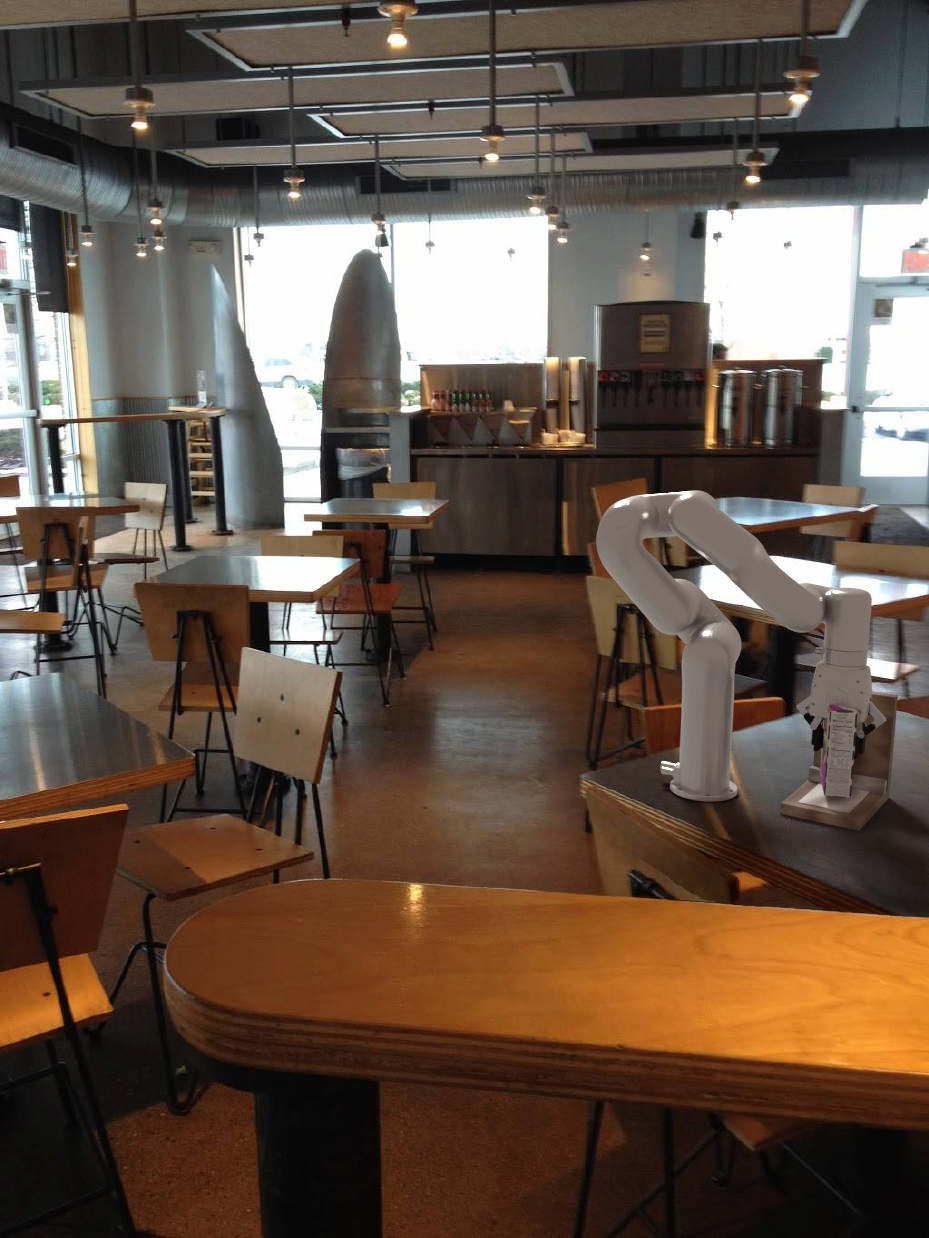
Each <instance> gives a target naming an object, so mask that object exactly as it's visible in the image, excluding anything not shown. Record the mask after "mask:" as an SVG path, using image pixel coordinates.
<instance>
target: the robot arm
mask: <svg viewBox="0 0 929 1238" xmlns="http://www.w3.org/2000/svg"><path fill="white" fill-rule="evenodd" d="M667 537H678V538H679V539H680V540H682V541H683V542H684V543H685V544H686V545H688V546H689V547H690V548H692V549H693V550H695V551H696V552H697V553H698V554H699V555H701V556H702V557H703V558H705V559H706V560H707V561H708V562H710V564H712V565H713V566H715V568H717V569H718V570H719V571H721V572H722V573H723V574H725V575H726V576H727V577H728V579H730V581H731V582H732V583H733V584H734V585H735V586H736V587H738V588H739V589H740V591H742V592H743V593H744V594H745V595H746V596H747V597H748V598H749V599H750V600H751V601H752V602H753V603H754V604H756V605H757V606H758V607H759V608H761V610H762V611H764V612H765V613H766V614H767V615H769V616H770V617H772V618H773V619H774V620H776V621H777V622H778V623H779V624H781V625H782V626H783V627H785V628H787V629H788V630H791V631H793V632H796V633H808V632H811V631H814V630H815V629H816V628H818V627H819V625H820V624H824V635H823V637H824V638H823V645H822V646H820V647H818V646H816V647H815V650H814V654H815V655H817V656H820V657H821V658H820V659H821V660H820V661H818V662H817V663H816V667H815V669H814V674H813V680H812V684H811V690H810V695H809V696H807V697H806V698H805V699H803V700H802V701H801V702H799V703H798V704H797V705H796V709H797V710H798V711H799V713H800V714H801V715H802V717H803V719H804V720H805V721H806V723H807V724H808V725H809V728H810V729H811V743H810V744H811V746H813V749H812V750H813V752H814V751H816V752H817V751H819V750H820V749H821V748H822V744H823V730H824V728H823V727H822V725H821V724H822V722H823V721H824V719H827V713H828V706H829V705H838V706H845V707H849V708H855V709H857V712H858V714H857V724H856V732H857V736H856V740H855V753H854V759H858V758H859V757H860V756H861V754H864V751H865V740H866V735H868V734H869V733H870V732H872V731H873V730H875V729H876V728H877V727H879V726H880V725H881V724H882V723H884V722H885V721H886V718H885V716H884V715H883V714H882V713H881V712H880V711H879V710H878V709H877V707H876V706H875V705H874V704H873V703H872V691H873V684H872V672H871V667H870V666H869V665H867V664H868V653H869V650H868V649H869V639H870V630H871V629H870V627H871V626H870V625H871V614H872V605H873V603H872V601H873V600H872V599H873V598H872V595H871V594H870V592H868V591H867V590H864V589H861V588H856V587H855V588H854V587H836V588H835V587H831V586H824V585H821V584H820V585H819V584H815V583H811V582H810V583H807V582H804V583H802V582H801V583H799V582H798V581H796V580H795V579H793V578H792V577H791V576H789V575H788V573H786V572H785V571H784V570H782V568H781V567H779V566H778V565H777V564H776V562H775V561H774V560H773V559H772V558H771V556H770V555H769V554H768V552H767V550H766V549H765V547H764V545H763V543H761V541H760V540H759V539H758V538H757V537H756V536H755V535H753V534H752V533H751V532H749V530H747V529H746V528H744V527H743V526H742V525H740V524H739V523H738V522H736V520H734V519H733V518H731V517H730V516H729V515H727V514H726V513H725V512H724V511H722V510H721V509H720V508H719V505H718V502H717V501H716V500H715V498H714V497H713V496H712V495H710V494H709V493H707V492H705V491H703V490H687V491H679V492H668V493H666V492H665V493H654V494H639V495H633V496H632V495H631V496H629V497H626V498H624V499H620V500H617V501H616V502H615V503H613V504H612V505H610V506H609V507H608V508H607V509H606V511H605V512H604V514H603V515H602V517H601V519H600V521H599V523H598V527H597V532H596V539H595V540H596V543H595V545H596V551H597V555H598V557H599V559H600V562H601V564H602V567H604V569H605V570H606V571H607V573H608V574H609V575H610V577H611V578H612V579H613V580H614V581H615V582H616V583H617V585H618V586H619V587H620V588H621V589H622V590H623V592H624V593H625V594H626V595H627V596H628V598H629V600H631V602H632V603H633V604H634V605H635V606H636V608H638V609H639V610H640V612H641V613H642V614H643V615H644V616H645V617H646V618H647V620H648V621H649V623H651V625H652V626H653V627H654V628H655V629H656V630H657V631H659V632H660V633H662V634H664V635H668V636H678V638H679V639H680V640H681V641H682V642H683V643H684V648H683V652H682V656H681V682H682V684H681V689H682V690H681V717H680V718H681V721H680V722H681V723H680V739H679V762H677V763H673V762H671V761H666V760H662V761H661V762H660V764H659V765H660V766H659V768H660V773H661V775H665V776H671V777H672V778H673V779H672V780H671V781H669V782H670V783H669V789H670V791H671V792H672V793H674V794H675V795H676V796H679V797H680V798H684V799H687V800H691V801H698V802H708V803H709V802H712V803H713V802H714V803H715V802H723V801H729V800H731V799H733V798H735V797H736V796H737V795H738V790H739V789H738V786H737V784H736V783H735V782H733V781H732V780H731V764H732V763H731V762H732V761H731V760H732V745H733V744H732V740H733V727H734V726H733V725H734V724H733V721H734V706H735V705H734V703H735V701H734V700H735V671H736V664H737V663H736V662H737V661H738V659H739V656H740V654H741V652H742V639H741V636H740V633H739V631H738V630H737V628H736V627H735V626H734V625H733V623H732V622H731V621H730V620H729V619H728V617H727V616H726V615H725V614H724V613H723V612H722V611H721V610H720V609H719V608H718V607H717V605H715V603H714V602H713V601H712V600H711V599H710V598H709V597H708V595H707V594H705V592H704V591H703V590H702V589H701V588H700V587H699V586H697V585H696V584H695V583H693V582H691V581H690V580H687V579H683V578H674V577H673V576H672V575H671V574H670V573H669V571H667V570H666V568H664V566H663V565H662V564H661V563H660V561H659V560H658V559H657V558H656V557H655V556H653V555H652V554H651V553H650V552H649V551H648V550H647V549H646V547H645V546H644V545H645V544H644V539H652V538H667ZM870 715H872V716H873V717H874V721H873V722H872V723H871V724H869V725H868V726H867V725H866V723H865V721H866V719H867V718H869V717H870Z"/></svg>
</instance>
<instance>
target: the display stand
mask: <svg viewBox="0 0 929 1238" xmlns="http://www.w3.org/2000/svg"><path fill="white" fill-rule="evenodd" d="M898 697H899V695H898V694H892V693H888V692H887V693H886V692H879V691H873V690H872V703H873V704H874V705H875V706H876V707H877V709H878V710H879V711H880V712H881V713H882V714H883V715H884V716H885V718H886V721H885V722H884V723H882V724H881V725H880V726H879V727H877V728H876V729H875V730H873V731H872V732H870V733H869V734H868V735H866V740H865V751H864V754H861V756H860V757H859V758H858V759H854V765H853V779H852V790H851V798H836V797H827V796H824V792H823V788H822V783H821V779H820V767H821V752H822V748H821V749H820V750H819V751H817V752H816V751H813V763H812V764H813V765H811V766H810V767H808V779H807V780H806V781H805V782H804V783H803V784H801V786H799V787H798V788H797V789H795V790H794V791H793V792H792V793H791V794H790V795H788V797H785V799H784V800H782V801H781V802H780V812H779V814H781V815H784V816H789V817H795V818H799V819H802V820H806V821H807V820H808V821H812V822H817V823H820V824H825V825H831V826H835V827H839V828H840V827H841V828H843V829H844V828H845V829H848V830H853V831H858V832H859V831H861V829H862V828H863V827H864V826H865V825H866V824H867V823H868V822H869V821H870V819H872V817H873V816H874V815H875V814H876V813H877V812H878V811H879V810H880V809H881V808H882V807H883V805H884V804H885V803H886V802H887V801H888V800H889V799H890V795H891V794H890V791H891V780H892V773H893V772H892V770H893V760H894V759H893V757H894V748H895V747H894V746H895V745H894V744H895V737H896V736H895V734H896V732H895V731H896V722H897V713H898V711H897V710H898ZM873 721H874V717H873V716H872V715H870V717H869V718H867V719H866V721H865V723H866V725H867V726H868V725H869V724H871V723H872V722H873ZM823 723H824V721H823V722H822V724H821V725H822V727H823ZM856 736H857V732H856Z"/></svg>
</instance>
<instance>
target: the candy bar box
mask: <svg viewBox="0 0 929 1238" xmlns="http://www.w3.org/2000/svg"><path fill="white" fill-rule="evenodd" d="M857 714H858V712H857V709H855V708H849V707H845V706H838V705H829V706H828V713H827V719H824V723H823V728H824V730H823V744H822V752H821V767H820V779H821V783H822V788H823V792H824V796H827V797H836V798H851V790H852V779H853V765H854V753H855V740H856V724H857Z"/></svg>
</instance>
